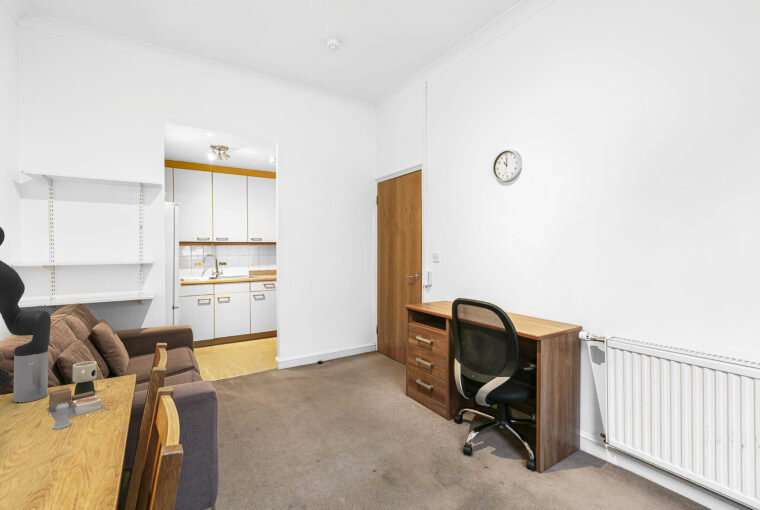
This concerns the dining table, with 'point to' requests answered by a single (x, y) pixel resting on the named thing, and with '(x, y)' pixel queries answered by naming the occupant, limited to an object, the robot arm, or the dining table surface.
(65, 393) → the walnut castle blocks
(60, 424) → the rook chess piece
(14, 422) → the dining table surface
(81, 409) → the white square block
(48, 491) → the dining table surface
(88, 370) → the character mug
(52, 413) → the baseplate
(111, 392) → the dining table surface
